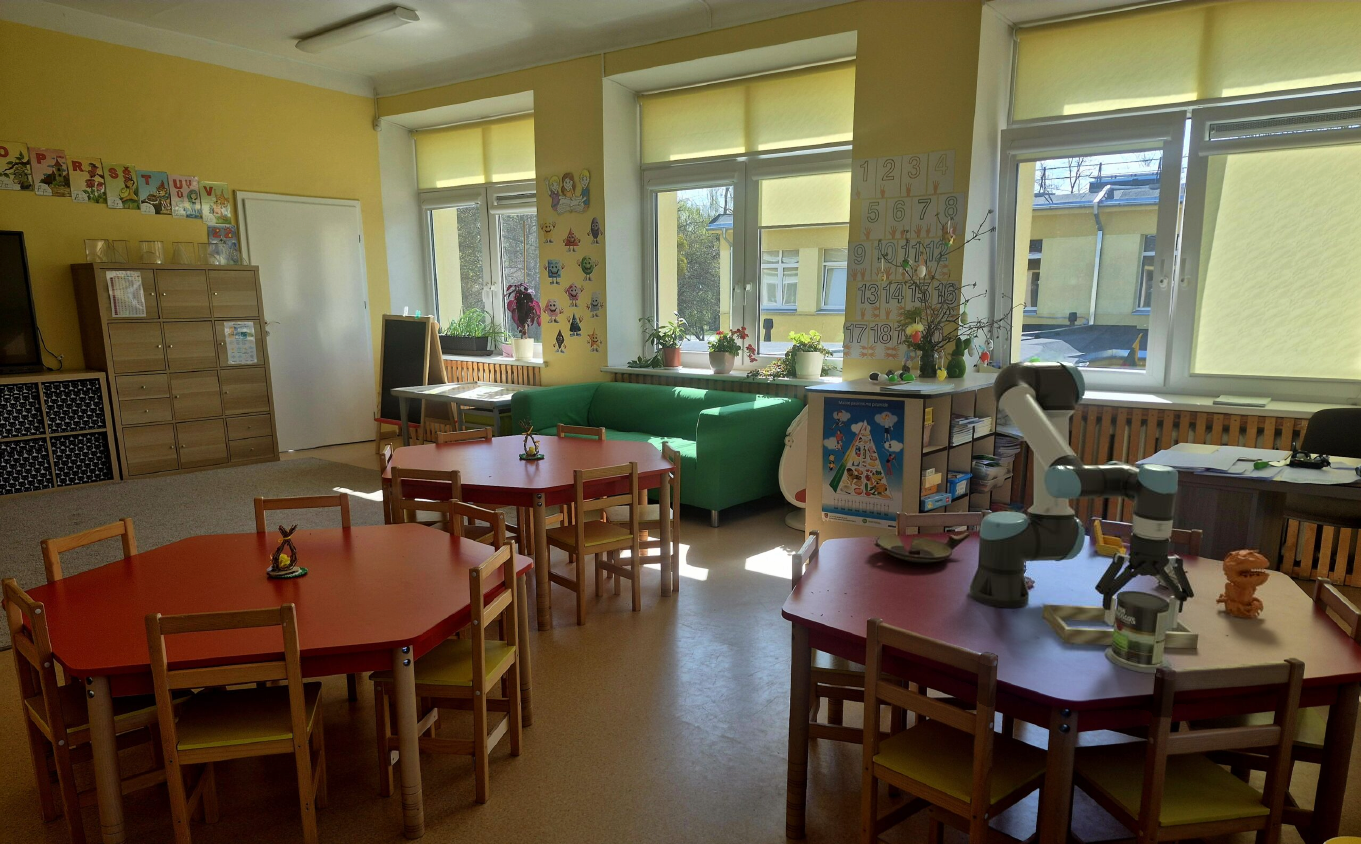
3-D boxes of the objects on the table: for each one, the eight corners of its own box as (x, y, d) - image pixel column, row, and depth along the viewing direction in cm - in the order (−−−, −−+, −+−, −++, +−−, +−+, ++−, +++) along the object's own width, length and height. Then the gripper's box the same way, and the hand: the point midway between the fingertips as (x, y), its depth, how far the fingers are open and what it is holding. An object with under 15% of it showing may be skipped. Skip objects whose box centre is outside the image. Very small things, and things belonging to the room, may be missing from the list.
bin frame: (1065, 642, 186) (1066, 629, 185) (1041, 617, 200) (1042, 604, 200) (1196, 648, 183) (1198, 634, 183) (1163, 621, 198) (1164, 608, 197)
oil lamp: (870, 545, 257) (871, 523, 256) (965, 551, 252) (966, 528, 251) (875, 568, 236) (877, 544, 234) (979, 575, 231) (981, 550, 229)
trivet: (1121, 672, 171) (1121, 670, 171) (1095, 645, 184) (1095, 643, 184) (1182, 674, 170) (1183, 672, 170) (1152, 648, 183) (1152, 646, 183)
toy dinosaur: (1251, 625, 196) (1260, 557, 193) (1205, 609, 206) (1213, 544, 203) (1274, 617, 201) (1284, 550, 198) (1229, 602, 211) (1237, 538, 208)
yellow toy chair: (1123, 558, 246) (1126, 530, 244) (1090, 553, 251) (1092, 525, 250) (1126, 549, 254) (1129, 522, 253) (1094, 544, 260) (1096, 518, 258)
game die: (1174, 601, 221) (1197, 582, 214) (1144, 588, 222) (1166, 569, 215) (1171, 577, 227) (1193, 558, 220) (1142, 565, 228) (1163, 546, 221)
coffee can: (1130, 669, 172) (1136, 608, 169) (1101, 648, 182) (1106, 591, 180) (1174, 667, 172) (1180, 607, 170) (1143, 646, 183) (1149, 589, 180)
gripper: (1100, 538, 170) (1090, 628, 174) (1220, 542, 168) (1207, 633, 171) (1085, 527, 177) (1076, 614, 181) (1200, 531, 175) (1188, 619, 179)
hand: (1139, 624), depth 176 cm, fingers open, 13 cm apart
